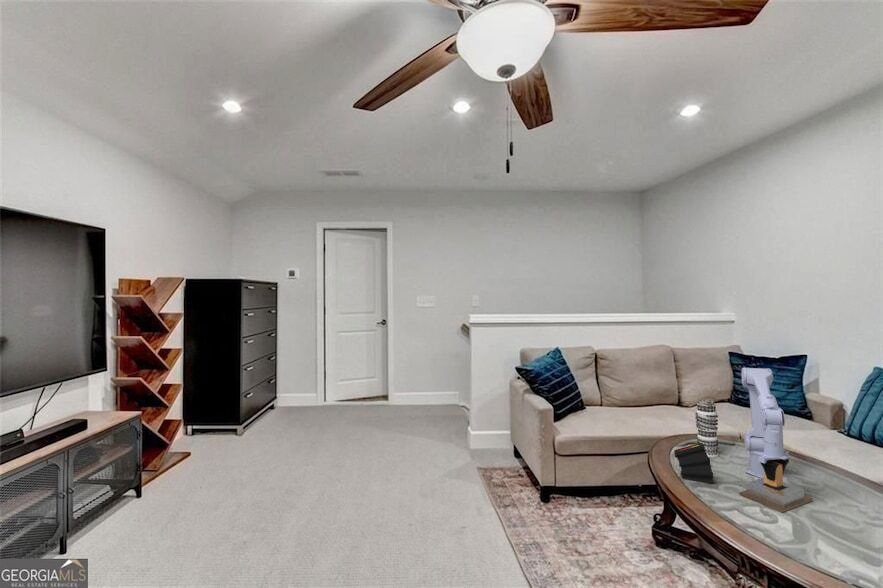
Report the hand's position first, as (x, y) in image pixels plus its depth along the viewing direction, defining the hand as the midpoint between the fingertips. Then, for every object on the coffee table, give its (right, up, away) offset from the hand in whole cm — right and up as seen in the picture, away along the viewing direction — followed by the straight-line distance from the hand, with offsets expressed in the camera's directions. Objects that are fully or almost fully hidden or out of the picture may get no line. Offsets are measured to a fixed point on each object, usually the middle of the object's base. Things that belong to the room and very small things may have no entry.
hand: (774, 478), depth 152 cm
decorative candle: (+3, -7, +42) cm, 43 cm away
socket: (0, -7, 0) cm, 7 cm away
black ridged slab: (-19, -8, +17) cm, 27 cm away
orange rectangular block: (0, -3, 0) cm, 3 cm away
